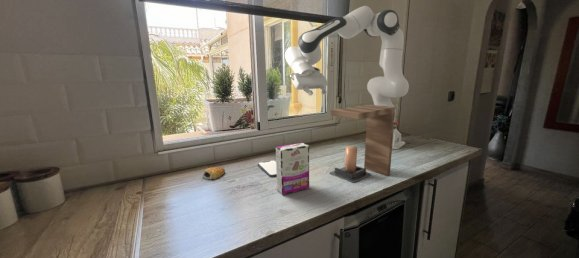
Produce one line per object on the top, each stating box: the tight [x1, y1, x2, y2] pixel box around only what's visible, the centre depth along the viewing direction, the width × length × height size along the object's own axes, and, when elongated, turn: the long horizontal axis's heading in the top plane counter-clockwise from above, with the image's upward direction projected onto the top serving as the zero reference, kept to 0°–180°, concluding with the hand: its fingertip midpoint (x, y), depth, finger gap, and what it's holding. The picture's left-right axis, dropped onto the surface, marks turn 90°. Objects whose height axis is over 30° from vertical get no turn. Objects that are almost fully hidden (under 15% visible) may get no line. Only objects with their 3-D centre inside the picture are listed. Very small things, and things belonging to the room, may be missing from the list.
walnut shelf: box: [330, 104, 396, 177], centre depth 100 cm, size 24×12×28 cm, turn 130°
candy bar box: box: [275, 142, 310, 196], centre depth 91 cm, size 11×5×16 cm, turn 117°
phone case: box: [257, 160, 277, 178], centre depth 112 cm, size 9×2×16 cm
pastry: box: [201, 166, 226, 180], centre depth 106 cm, size 9×7×4 cm
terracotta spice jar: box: [344, 145, 358, 173], centre depth 105 cm, size 4×4×11 cm
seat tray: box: [329, 165, 372, 184], centre depth 106 cm, size 12×12×3 cm
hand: (318, 94), depth 123 cm, fingers open, 8 cm apart
